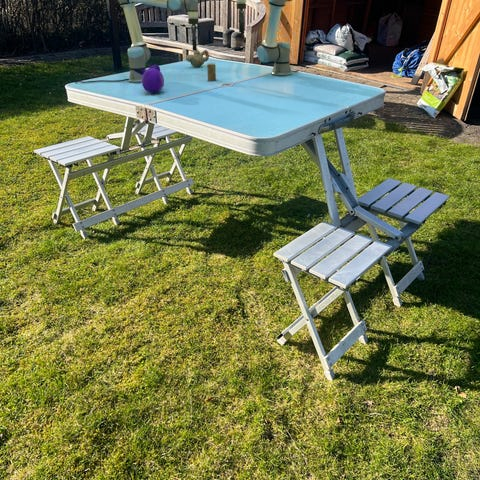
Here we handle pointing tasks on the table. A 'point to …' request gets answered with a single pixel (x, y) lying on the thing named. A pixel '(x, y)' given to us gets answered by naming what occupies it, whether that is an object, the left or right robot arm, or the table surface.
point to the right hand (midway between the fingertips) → (241, 33)
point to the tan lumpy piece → (197, 58)
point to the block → (211, 72)
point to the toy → (152, 79)
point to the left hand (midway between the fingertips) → (194, 49)
